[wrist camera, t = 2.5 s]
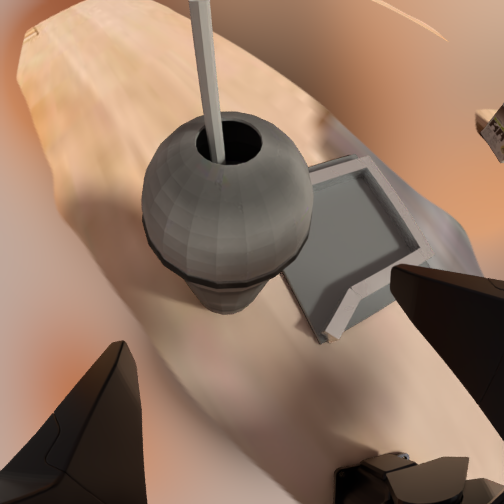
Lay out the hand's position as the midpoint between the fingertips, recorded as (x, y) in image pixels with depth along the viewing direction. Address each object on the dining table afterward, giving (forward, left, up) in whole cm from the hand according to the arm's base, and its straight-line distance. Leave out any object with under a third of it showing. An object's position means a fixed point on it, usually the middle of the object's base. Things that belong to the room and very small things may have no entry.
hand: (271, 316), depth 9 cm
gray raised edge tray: (+10, -9, -13) cm, 19 cm away
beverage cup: (+5, +1, -14) cm, 15 cm away
